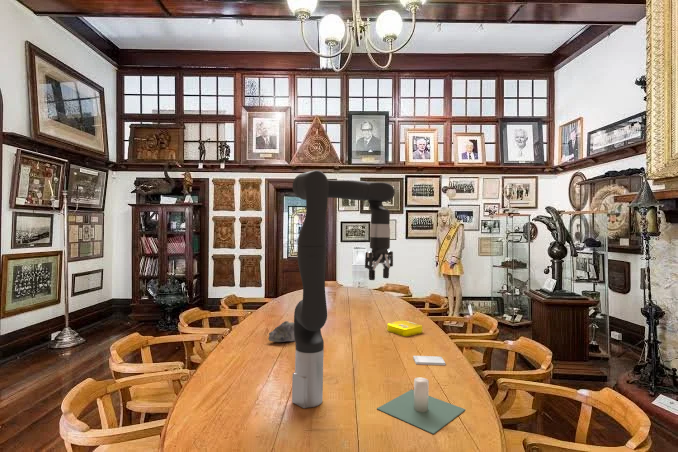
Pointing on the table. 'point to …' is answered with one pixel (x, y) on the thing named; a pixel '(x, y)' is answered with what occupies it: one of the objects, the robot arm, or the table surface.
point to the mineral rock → (283, 333)
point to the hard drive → (429, 360)
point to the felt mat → (427, 421)
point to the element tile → (404, 328)
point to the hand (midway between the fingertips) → (379, 279)
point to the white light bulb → (421, 394)
